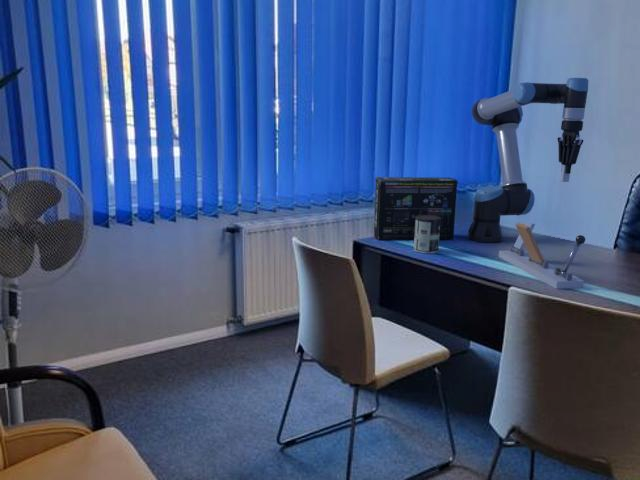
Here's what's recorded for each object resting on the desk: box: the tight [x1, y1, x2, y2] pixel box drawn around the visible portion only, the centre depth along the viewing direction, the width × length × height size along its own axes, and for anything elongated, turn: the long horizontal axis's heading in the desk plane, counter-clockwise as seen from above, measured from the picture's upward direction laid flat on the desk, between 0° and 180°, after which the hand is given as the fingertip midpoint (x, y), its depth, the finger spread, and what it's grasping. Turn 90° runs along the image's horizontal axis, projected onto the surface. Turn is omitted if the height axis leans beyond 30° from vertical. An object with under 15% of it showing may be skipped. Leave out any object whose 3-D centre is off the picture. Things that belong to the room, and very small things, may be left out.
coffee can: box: [413, 215, 441, 255], centre depth 227 cm, size 10×10×14 cm
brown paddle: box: [514, 222, 546, 266], centre depth 201 cm, size 2×8×17 cm
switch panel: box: [498, 244, 585, 290], centre depth 204 cm, size 10×39×5 cm, turn 11°
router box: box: [373, 176, 459, 241], centre depth 247 cm, size 36×11×27 cm, turn 96°
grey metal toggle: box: [556, 234, 586, 278], centre depth 188 cm, size 3×5×15 cm, turn 11°
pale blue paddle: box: [512, 220, 536, 254], centre depth 217 cm, size 2×5×13 cm, turn 11°
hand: (564, 181), depth 217 cm, fingers closed
